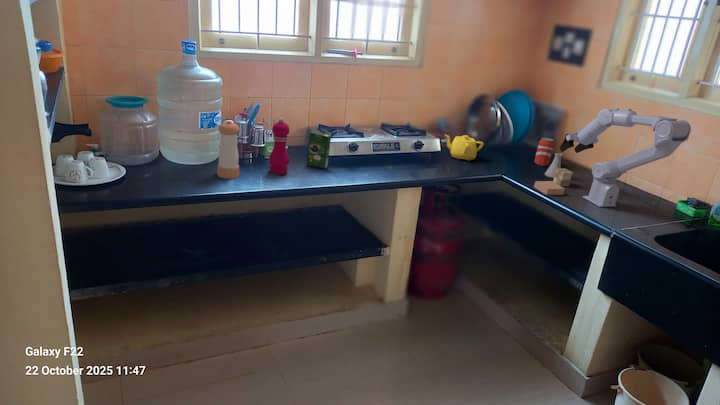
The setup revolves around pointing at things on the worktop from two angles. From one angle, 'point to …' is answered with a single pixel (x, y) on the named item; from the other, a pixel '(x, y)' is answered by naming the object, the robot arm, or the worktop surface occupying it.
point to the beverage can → (544, 151)
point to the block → (562, 177)
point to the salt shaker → (228, 151)
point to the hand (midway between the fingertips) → (568, 150)
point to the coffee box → (318, 149)
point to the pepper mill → (279, 148)
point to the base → (549, 188)
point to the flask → (554, 165)
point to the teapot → (463, 147)
